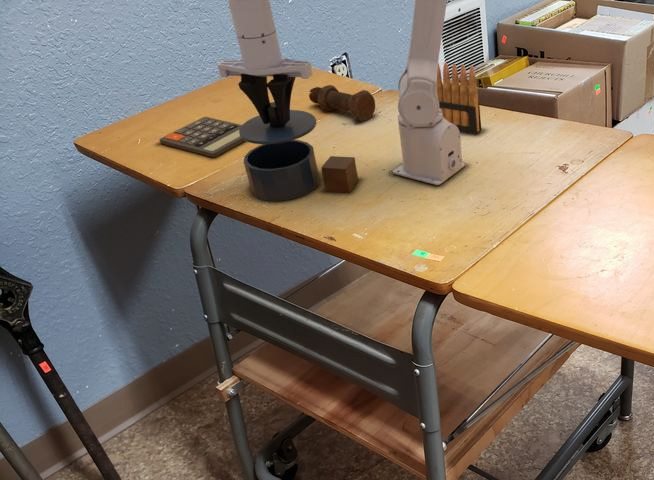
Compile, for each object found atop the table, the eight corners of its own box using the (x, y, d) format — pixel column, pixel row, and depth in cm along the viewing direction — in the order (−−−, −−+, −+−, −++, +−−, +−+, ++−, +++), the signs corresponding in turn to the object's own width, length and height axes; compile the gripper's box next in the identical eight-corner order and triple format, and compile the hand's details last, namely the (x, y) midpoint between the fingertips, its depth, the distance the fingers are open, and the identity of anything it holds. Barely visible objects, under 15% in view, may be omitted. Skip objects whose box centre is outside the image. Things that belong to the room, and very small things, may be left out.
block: (358, 180, 117) (354, 157, 115) (349, 192, 114) (345, 169, 112) (335, 179, 118) (330, 155, 116) (325, 191, 115) (320, 167, 113)
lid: (332, 123, 114) (327, 96, 112) (279, 154, 107) (272, 126, 104) (278, 111, 120) (272, 85, 117) (224, 139, 113) (217, 112, 110)
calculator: (204, 115, 141) (258, 128, 135) (205, 120, 142) (259, 132, 135) (158, 138, 134) (212, 152, 127) (159, 143, 135) (214, 157, 128)
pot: (333, 177, 119) (327, 147, 116) (286, 207, 112) (278, 176, 109) (285, 164, 124) (278, 134, 121) (237, 191, 117) (229, 161, 114)
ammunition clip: (481, 130, 129) (479, 64, 122) (477, 134, 128) (474, 67, 121) (431, 122, 134) (426, 57, 126) (426, 126, 133) (420, 61, 125)
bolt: (320, 111, 146) (371, 124, 138) (302, 106, 142) (353, 119, 134) (326, 82, 145) (378, 93, 137) (307, 76, 141) (359, 88, 133)
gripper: (312, 24, 105) (328, 113, 114) (224, 24, 108) (247, 110, 117) (293, 39, 100) (311, 131, 109) (201, 39, 103) (227, 128, 112)
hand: (277, 121), depth 113 cm, fingers closed on lid, 2 cm apart
